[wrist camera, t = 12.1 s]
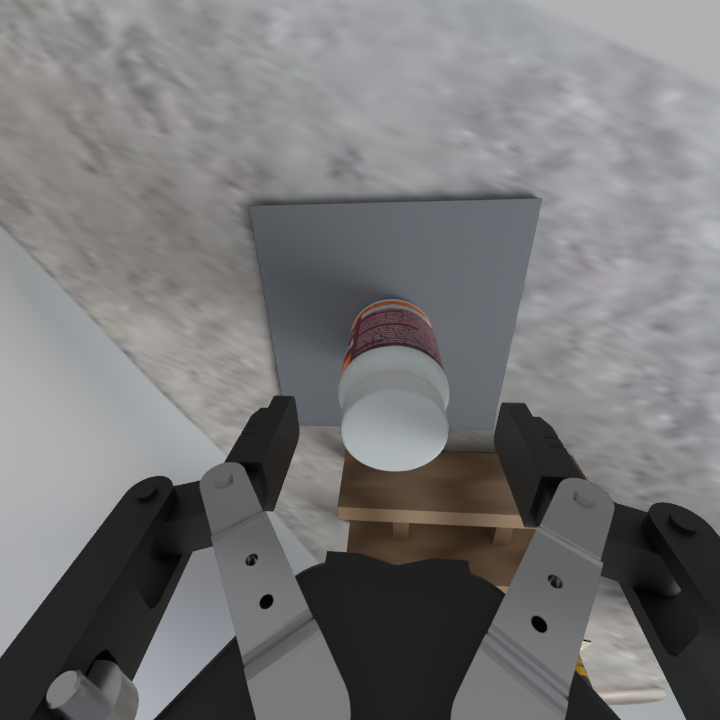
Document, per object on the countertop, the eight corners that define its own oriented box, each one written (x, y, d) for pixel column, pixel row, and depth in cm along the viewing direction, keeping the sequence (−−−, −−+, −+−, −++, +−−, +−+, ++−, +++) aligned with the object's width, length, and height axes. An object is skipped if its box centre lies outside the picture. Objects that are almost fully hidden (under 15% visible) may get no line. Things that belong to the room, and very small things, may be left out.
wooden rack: (571, 455, 24) (612, 519, 19) (541, 533, 28) (569, 599, 24) (346, 448, 25) (337, 507, 21) (351, 523, 29) (344, 585, 25)
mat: (538, 197, 16) (542, 198, 16) (490, 425, 23) (492, 430, 22) (252, 205, 17) (248, 206, 17) (289, 420, 24) (287, 424, 24)
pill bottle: (339, 309, 19) (310, 395, 12) (423, 287, 18) (448, 366, 11) (363, 378, 21) (350, 487, 14) (439, 361, 20) (468, 470, 13)
